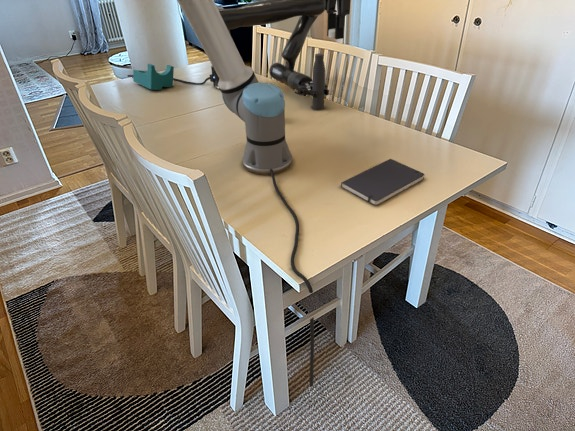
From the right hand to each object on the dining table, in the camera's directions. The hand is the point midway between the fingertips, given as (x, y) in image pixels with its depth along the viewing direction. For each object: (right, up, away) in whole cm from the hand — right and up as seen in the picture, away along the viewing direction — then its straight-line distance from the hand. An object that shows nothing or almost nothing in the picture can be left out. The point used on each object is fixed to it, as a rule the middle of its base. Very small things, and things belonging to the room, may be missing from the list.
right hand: (335, 36), depth 130 cm
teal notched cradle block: (-78, +5, +62) cm, 100 cm away
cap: (0, +1, -1) cm, 2 cm away
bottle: (-3, -14, +34) cm, 36 cm away
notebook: (+12, -48, -15) cm, 52 cm away
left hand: (-2, -10, +28) cm, 30 cm away
